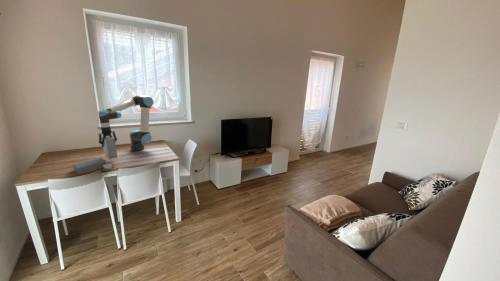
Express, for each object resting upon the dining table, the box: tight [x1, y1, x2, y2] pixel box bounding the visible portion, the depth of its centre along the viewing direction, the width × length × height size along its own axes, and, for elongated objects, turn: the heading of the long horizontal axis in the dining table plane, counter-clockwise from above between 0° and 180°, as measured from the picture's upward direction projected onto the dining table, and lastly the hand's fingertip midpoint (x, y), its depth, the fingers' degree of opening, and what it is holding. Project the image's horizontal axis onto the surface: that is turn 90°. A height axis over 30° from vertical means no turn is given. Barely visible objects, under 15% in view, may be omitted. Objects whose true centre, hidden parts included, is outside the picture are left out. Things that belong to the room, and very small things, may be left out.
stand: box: [71, 157, 107, 175], centre depth 196 cm, size 22×14×6 cm, turn 146°
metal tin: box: [102, 162, 113, 172], centre depth 195 cm, size 7×7×5 cm
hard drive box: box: [102, 136, 118, 160], centre depth 206 cm, size 16×8×20 cm, turn 48°
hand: (109, 148), depth 207 cm, fingers closed on hard drive box, 8 cm apart
